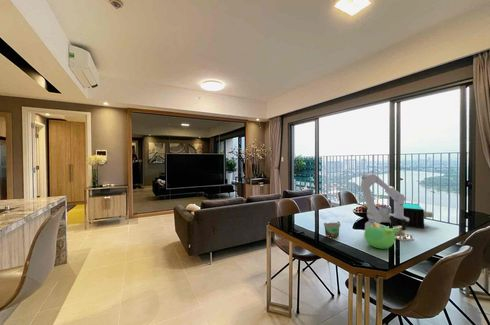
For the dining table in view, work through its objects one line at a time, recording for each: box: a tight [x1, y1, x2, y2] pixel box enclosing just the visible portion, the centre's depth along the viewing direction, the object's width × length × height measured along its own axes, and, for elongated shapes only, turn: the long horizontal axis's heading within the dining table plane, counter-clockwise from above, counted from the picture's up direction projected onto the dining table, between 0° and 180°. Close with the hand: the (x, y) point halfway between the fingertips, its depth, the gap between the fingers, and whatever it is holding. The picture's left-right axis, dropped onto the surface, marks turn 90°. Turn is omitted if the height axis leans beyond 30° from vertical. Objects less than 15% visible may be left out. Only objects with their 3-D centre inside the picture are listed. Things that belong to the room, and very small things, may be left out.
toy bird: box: [364, 222, 399, 250], centre depth 132 cm, size 18×17×15 cm
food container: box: [323, 221, 341, 239], centre depth 150 cm, size 12×6×10 cm, turn 105°
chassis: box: [395, 233, 415, 242], centre depth 146 cm, size 10×6×2 cm, turn 101°
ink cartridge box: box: [376, 204, 392, 223], centre depth 187 cm, size 10×6×14 cm, turn 78°
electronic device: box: [396, 202, 434, 229], centre depth 180 cm, size 25×25×15 cm
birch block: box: [392, 225, 406, 236], centre depth 156 cm, size 6×4×5 cm, turn 101°
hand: (398, 228), depth 156 cm, fingers open, 7 cm apart
